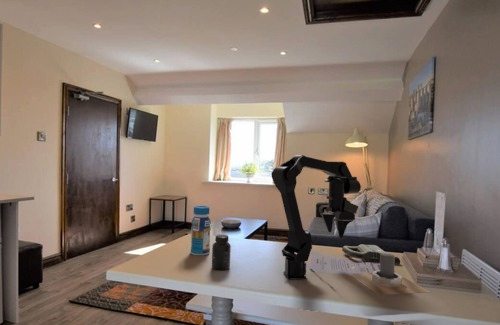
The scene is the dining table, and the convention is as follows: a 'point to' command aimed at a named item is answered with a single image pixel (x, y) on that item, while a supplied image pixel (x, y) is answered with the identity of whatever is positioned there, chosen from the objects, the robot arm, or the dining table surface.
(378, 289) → the tan square board
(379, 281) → the aluminium collar
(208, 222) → the beverage bottle
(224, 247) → the supplement bottle
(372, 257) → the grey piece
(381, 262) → the grey rounded plug
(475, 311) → the dining table surface
